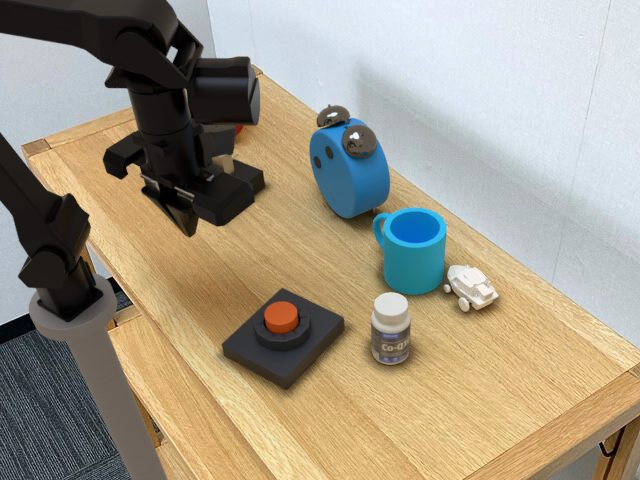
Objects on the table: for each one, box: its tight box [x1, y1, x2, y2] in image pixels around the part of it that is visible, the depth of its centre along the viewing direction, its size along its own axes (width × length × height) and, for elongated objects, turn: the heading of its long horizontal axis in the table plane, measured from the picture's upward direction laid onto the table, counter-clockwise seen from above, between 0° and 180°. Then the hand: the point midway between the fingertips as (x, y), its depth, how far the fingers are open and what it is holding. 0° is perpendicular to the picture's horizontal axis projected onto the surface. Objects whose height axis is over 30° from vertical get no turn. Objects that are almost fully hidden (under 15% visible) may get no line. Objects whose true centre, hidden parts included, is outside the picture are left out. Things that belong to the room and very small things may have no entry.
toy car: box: [443, 264, 500, 313], centre depth 98 cm, size 5×8×4 cm, turn 31°
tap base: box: [232, 153, 266, 197], centre depth 116 cm, size 12×12×3 cm
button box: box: [221, 287, 346, 391], centre depth 94 cm, size 12×10×4 cm
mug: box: [371, 206, 448, 296], centre depth 101 cm, size 12×8×8 cm
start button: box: [264, 301, 298, 334], centre depth 92 cm, size 4×4×2 cm
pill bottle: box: [370, 291, 412, 366], centre depth 91 cm, size 5×5×8 cm
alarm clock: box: [308, 103, 391, 219], centre depth 108 cm, size 13×6×15 cm, turn 32°
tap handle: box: [202, 154, 235, 179], centre depth 113 cm, size 8×2×5 cm, turn 55°
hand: (190, 234), depth 92 cm, fingers closed
